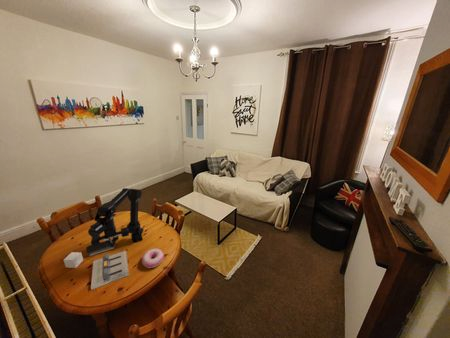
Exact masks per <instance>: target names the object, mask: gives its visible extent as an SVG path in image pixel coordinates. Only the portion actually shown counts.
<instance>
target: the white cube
mask: <svg viewBox="0 0 450 338" xmlns="http://www.w3.org/2000/svg"><path fill="white" fill-rule="evenodd" d="M83 261H84V257H83V255H82V252H78V251H77V252H75V251H72V252H70V253H69V254H68V255H67V256H66V257H65V258H64V259H63V262H64V263H63V264H64V266H65V268H66V269H67V268H72V269H73V268H75V269H76V268H78V266H79V265H80V264H81V263H82V262H83Z"/></svg>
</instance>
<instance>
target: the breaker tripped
mask: <svg viewBox="0 0 450 338" xmlns="http://www.w3.org/2000/svg"><path fill="white" fill-rule="evenodd" d="M105 268H109V261H104V262H103V263H102V269H103V270H104V269H105Z"/></svg>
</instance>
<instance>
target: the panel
mask: <svg viewBox="0 0 450 338" xmlns="http://www.w3.org/2000/svg"><path fill="white" fill-rule="evenodd" d="M127 254H128V253H127V250H123V251H120V252H117V253H114V254H112V255H109V278H106V279H104V280H103V277H102V270H103V269H102V263H103V257H102V258H99V259H95V260H93V262H92V263H93V264H92V271H91V285H90V290H91V291H92V290H95V289H98V288H99V287H102V286H105V285H107V284H110V283H112V282H114V281H118V280H120V279H123V278H125V277H128V276H130V273H129V263H128V255H127Z"/></svg>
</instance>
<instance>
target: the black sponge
mask: <svg viewBox="0 0 450 338" xmlns="http://www.w3.org/2000/svg"><path fill="white" fill-rule="evenodd" d="M111 241H112V243H113V238H112V239H111ZM116 246H117V245H116V243H115V246H114V247H113V248H112V247H111V246H110V245H109V244H107V243H104V241H100V243H99V244H98V245H94V246H92V245H91V244H90V245H87V246H86V248H85V252H86V255H88V256H89V257H91V256H95V255H98V254H100V253H101V254H102V253H104V252H108V251H109V250H113V249H115V247H116Z"/></svg>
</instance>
